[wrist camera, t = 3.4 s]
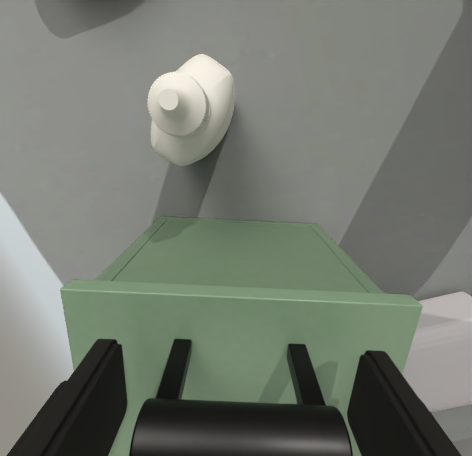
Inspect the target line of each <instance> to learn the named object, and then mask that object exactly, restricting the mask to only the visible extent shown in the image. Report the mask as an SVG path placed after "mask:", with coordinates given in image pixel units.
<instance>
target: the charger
mask: <svg viewBox="0 0 472 456" xmlns="http://www.w3.org/2000/svg"><path fill="white" fill-rule="evenodd" d="M418 302H419V303H420V304H421V305H422V306H423V308H422V311H421V314H420V318H419V321H418V324H417V328H416V331H415V334H414V337H413V341H412V344H411V347H410V351H409V354H408V357H407V361H406V364H405V367H404V371H403V374H402V375H403V377H404V378H405V379H406V381H407V382H408V384H409V385H410V386H411V388H412V389H413V391H414V392H415V393H416V395H417V396H418V398H420V400H421V401H422V402H423V403H424V404H425V406H426V407H427V408H428V410H429V411H430V412H435V411H440V410H445V409H450V408H456V407H461V406H466V405H471V404H472V296H470V295H469V294H467V293H465V292H463V291H461V292H456V293H452V294H447V295H443V296H439V297H434V298H430V299H425V300H421V301H418Z"/></svg>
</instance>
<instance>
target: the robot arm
mask: <svg viewBox="0 0 472 456" xmlns="http://www.w3.org/2000/svg"><path fill="white" fill-rule="evenodd" d="M126 410H127V392H126V381H125V371H124V361H123V350H122V345H121V344H118V343H117V340H116V339H97V340H96V342H95V343H94V344H93V346H92V347H91V348H90V350H89V351H88V353H87V354H86V355H85V357H84V358H83V360H82V361H81V363H80V364H79V365H78V367H77V368H76V370H75V371H74V372H73V374H72V375H71V377H70V378H69V379H68V381H64V382H62V383H61V384H60V385H59V386H58V387H57V388H56V389H55V391H54V392H53V393H52V395H51V396H50V398H49V399H48V400H47V402H46V403H45V404H44V406H43V407H42V408H41V410H40V411H39V412H38V414H37V415H36V417H35V418H34V419H33V421H32V422H31V423H30V425H29V426H28V427H27V429H26V430H25V432H24V433H23V434H22V436H21V437H20V438H19V440H18V441H17V442H16V444H15V445H14V447H13V448H12V449H11V451H10V452H9V453H8V455H7V456H108V455H109V453H110V450H111V448H112V445H113V443H114V441H115V438H116V436H117V433H118V431H119V428H120V426H121V424H122V421H123V419H124V416H125V414H126ZM347 418H348V423H349V426H350V428H351V431H352V433H353V436H354V438H355V441H356V443H357V446H358V448H359V451H360V453H361V456H461V455H460V453H459V452H458V450H457V449H456V448H455V446H454V445H453V443H452V442H451V441H450V439H449V438H448V436H447V435H446V434H445V432H444V431H443V429H442V428H441V427H440V425H439V424H438V422H437V421H436V420H435V418H434V417H433V415H432V414H431V413H430V411H429V410H428V408H427V407H426V406H425V404H424V403H423V402H422V401H421V400H420V398H418V396H417V395H416V393H415V392H414V391H413V389H412V388H411V386H410V385H409V384H408V382H407V381H406V379H405V378H404V377H403V375H402V374H401V372H400V371H399V369H398V368H397V367H396V365H395V364H394V362H393V361H392V360H391V358H390V357H389V355H388V354H387V353H386V352H384V351H372V350H367V351H366V352H365V354H364V355H361V356H360V359H359V363H358V367H357V371H356V376H355V380H354V384H353V389H352V393H351V397H350V401H349V406H348V410H347Z"/></svg>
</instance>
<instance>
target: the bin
mask: <svg viewBox="0 0 472 456" xmlns="http://www.w3.org/2000/svg"><path fill="white" fill-rule="evenodd" d="M95 280H99V281H121V282H142V283H164V284H185V285H207V286H228V287H250V288H272V289H293V290H315V291H336V292H358V293H379V294H385V293H384V292H383V291H382V290H381V289H380V288H379V287H378V286H377V285H376V284H375V283H374V282H373V281H372V280H371V279H370V278H369V277H368V276H367V275H366V274H365V273H364V272H363V271H362V270H361V269H360V268H359V267H358V266H357V264H356V263H355V262H354V261H353V260H352V259H351V258H350V257H349V256H348V255H347V254H346V253H345V252H344V251H343V250H342V249H341V248H340V247H339V246H338V245H337V244H336V243H335V242H334V241H333V240H332V239H331V238H330V237H329V236H328V235H327V234H326V233H325V232H324V231H323V230H322V229H321V228H320V226H319V225H318V224H310V223H289V222H269V221H248V220H228V219H207V218H187V217H166V216H161V217H160V218H159V219H158V220H157V221H155V222H154V223H153V224H152V225H151V226H150V227H149V228H148V229H147V230H146V231H145V232H144V233H143V234H142V235H141V236H140V237H139V238H138V239H137V240H136V241H135V242H134V243H133V244H132V245H131V246H130V247H129V248H128V249H127V250H125V251H124V252H123V253H122V254H121V255H120V256H119V257H118V258H117V259H116V260H115V261H114V262H113V263H112V264H111V265H110V266H109V267H108V268H107V269H106V270H105V271H104V272H103V273H102V274H101V275H100V276H99V277H98V278H97V279H95Z"/></svg>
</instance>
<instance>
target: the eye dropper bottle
mask: <svg viewBox="0 0 472 456" xmlns="http://www.w3.org/2000/svg"><path fill="white" fill-rule="evenodd" d="M148 96H149V97H148V101H147V102H148V104H147V105H148V109H149V112H150V114H149V115H151V118H152V125H151V145H152V148H153V150H154V151H155V152H156V153H157V154H159V155H160V156H161V157H163V158H165V159H166V160H168V161H169V162H171V163H173V164H175V165H178V166H186V165H189V164H192V163H194V162H196V161H199V160H201V159H202V158H204V157H205V156H207V155H208V154H209V153H210V152H211V151H212V150H214V149H215V147H216V146H217V145H218V144H219V143H220V141H221V140H222V138H223V137H224V135H225V133H226V132H227V130H228V127H229V125H230V122H231V120H232V116H233V112H234V107H235V88H234V82H233V76H232V75H231V74H230V72H229V71H228V70H227V69H226V68H225V67H223V66H222V65H221V64H219V63H218V62H216V61H215V60H214V59H212V58H210V57H209V56H207V55H203V54H200V55H196V56H195V57H193V58H191V59H190V60H188V61H187V62H186V63H185V64H183V65H182V66H181V67H180V68H179V69H178V70H177V71H175V72H174V73H173V72H171V73H170V72H169V73H168V74H167V73H166V74H165V75H164V74H163V75H162V76H160V78H158V79H157V80H155V82H153V85H152V87H151V88H150V91H149V94H148Z"/></svg>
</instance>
